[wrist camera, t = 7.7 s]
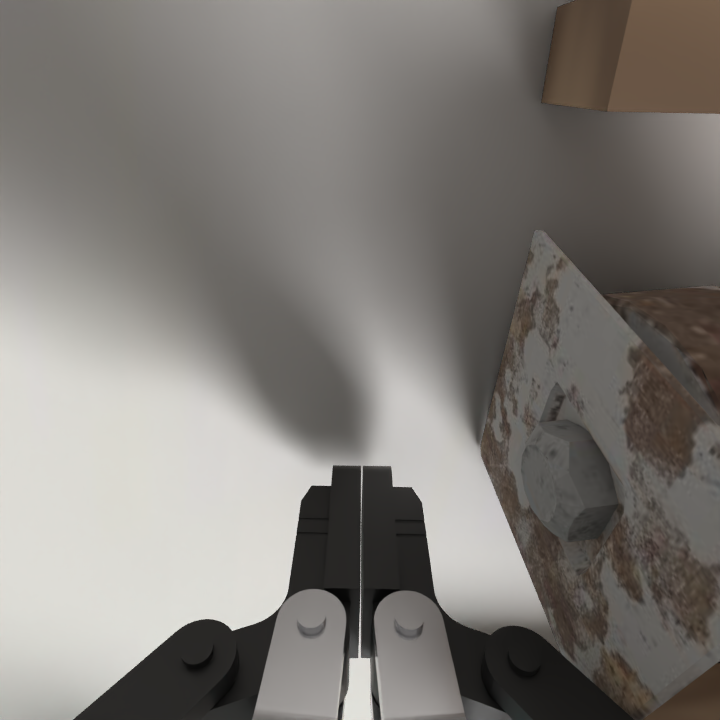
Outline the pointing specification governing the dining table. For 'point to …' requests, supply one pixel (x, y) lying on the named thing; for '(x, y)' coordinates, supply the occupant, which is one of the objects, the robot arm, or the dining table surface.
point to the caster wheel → (614, 473)
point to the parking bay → (642, 94)
